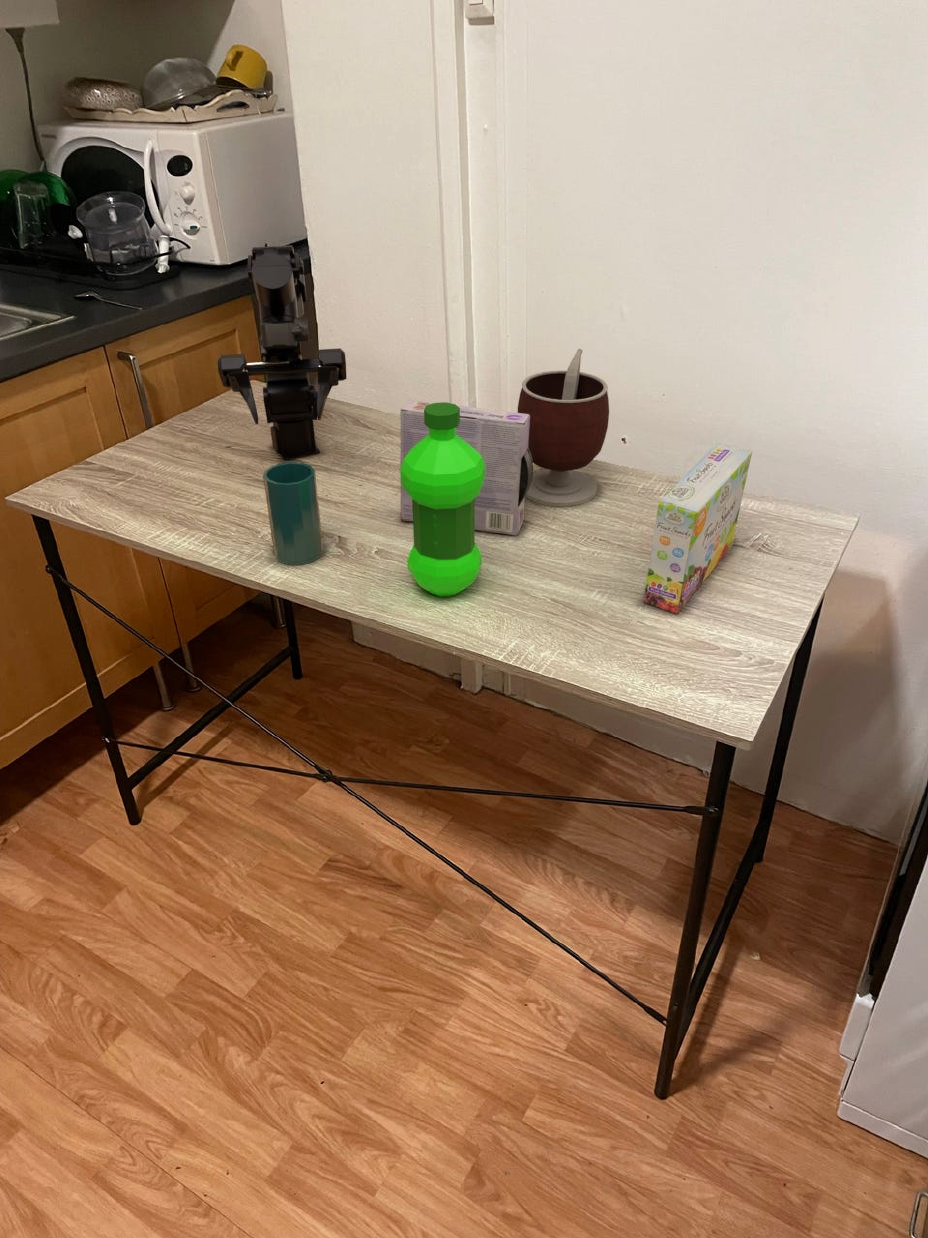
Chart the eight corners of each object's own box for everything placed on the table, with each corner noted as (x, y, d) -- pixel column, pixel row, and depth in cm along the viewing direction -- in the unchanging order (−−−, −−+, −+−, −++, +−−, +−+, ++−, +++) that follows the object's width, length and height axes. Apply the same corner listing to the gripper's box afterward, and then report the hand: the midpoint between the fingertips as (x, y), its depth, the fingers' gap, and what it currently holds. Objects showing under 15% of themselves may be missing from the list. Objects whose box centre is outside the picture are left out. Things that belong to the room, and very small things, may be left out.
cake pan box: (531, 522, 138) (536, 410, 128) (524, 538, 134) (529, 424, 124) (409, 507, 142) (405, 397, 132) (399, 522, 138) (394, 410, 128)
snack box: (682, 617, 117) (698, 512, 109) (640, 604, 120) (654, 500, 111) (735, 545, 132) (754, 448, 123) (698, 535, 134) (714, 439, 126)
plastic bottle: (431, 558, 129) (426, 387, 115) (497, 579, 125) (501, 403, 110) (391, 592, 122) (381, 414, 108) (459, 615, 118) (458, 432, 103)
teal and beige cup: (312, 536, 135) (303, 457, 127) (330, 557, 130) (322, 477, 122) (268, 548, 132) (256, 468, 125) (284, 570, 127) (273, 488, 120)
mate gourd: (590, 515, 140) (600, 388, 128) (503, 500, 144) (506, 376, 132) (612, 472, 152) (624, 353, 140) (532, 460, 156) (537, 343, 144)
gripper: (208, 299, 130) (215, 403, 128) (340, 293, 133) (350, 394, 130) (220, 337, 141) (227, 433, 139) (341, 330, 144) (351, 425, 141)
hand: (288, 421), depth 137 cm, fingers open, 9 cm apart
